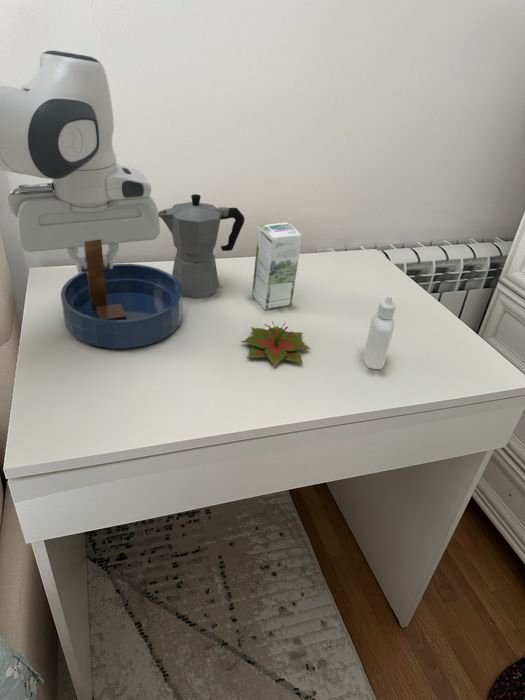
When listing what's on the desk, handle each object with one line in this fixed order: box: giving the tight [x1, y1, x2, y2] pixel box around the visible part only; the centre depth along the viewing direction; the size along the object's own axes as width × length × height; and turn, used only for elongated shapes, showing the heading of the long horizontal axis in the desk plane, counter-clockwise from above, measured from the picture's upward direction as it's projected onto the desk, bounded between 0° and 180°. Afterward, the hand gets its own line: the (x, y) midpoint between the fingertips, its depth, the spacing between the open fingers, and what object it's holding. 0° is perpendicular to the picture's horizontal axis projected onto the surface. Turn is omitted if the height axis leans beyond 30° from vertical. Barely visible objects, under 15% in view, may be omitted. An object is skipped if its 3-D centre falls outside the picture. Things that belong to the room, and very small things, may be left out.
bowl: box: [60, 263, 183, 349], centre depth 90 cm, size 19×19×6 cm
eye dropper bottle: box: [362, 294, 396, 370], centre depth 84 cm, size 4×6×12 cm
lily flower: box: [240, 320, 311, 368], centre depth 86 cm, size 12×12×5 cm
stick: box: [83, 240, 107, 311], centre depth 84 cm, size 2×2×14 cm
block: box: [96, 304, 127, 320], centre depth 85 cm, size 4×4×4 cm
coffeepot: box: [158, 193, 245, 299], centre depth 97 cm, size 15×9×18 cm, turn 103°
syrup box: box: [251, 221, 303, 311], centre depth 96 cm, size 6×6×14 cm
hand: (95, 269), depth 83 cm, fingers closed on stick, 2 cm apart
